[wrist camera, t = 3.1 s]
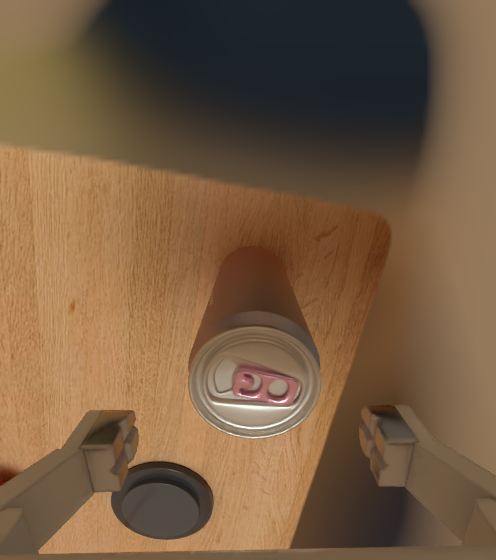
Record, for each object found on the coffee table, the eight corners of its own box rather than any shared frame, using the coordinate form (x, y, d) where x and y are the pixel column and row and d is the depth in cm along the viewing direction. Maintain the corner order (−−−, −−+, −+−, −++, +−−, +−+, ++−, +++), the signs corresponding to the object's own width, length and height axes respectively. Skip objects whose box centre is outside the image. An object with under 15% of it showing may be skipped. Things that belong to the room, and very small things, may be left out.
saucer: (210, 461, 33) (208, 472, 32) (215, 532, 37) (214, 545, 36) (106, 462, 33) (100, 473, 32) (121, 532, 37) (117, 545, 36)
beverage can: (275, 313, 27) (303, 453, 13) (213, 300, 27) (173, 429, 13) (292, 253, 26) (346, 340, 11) (226, 238, 25) (195, 308, 11)
